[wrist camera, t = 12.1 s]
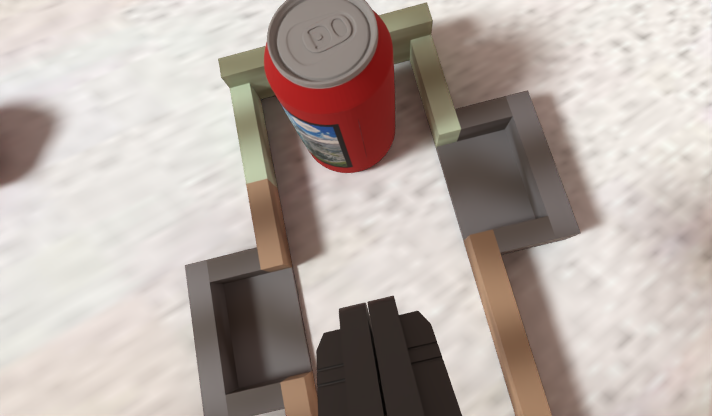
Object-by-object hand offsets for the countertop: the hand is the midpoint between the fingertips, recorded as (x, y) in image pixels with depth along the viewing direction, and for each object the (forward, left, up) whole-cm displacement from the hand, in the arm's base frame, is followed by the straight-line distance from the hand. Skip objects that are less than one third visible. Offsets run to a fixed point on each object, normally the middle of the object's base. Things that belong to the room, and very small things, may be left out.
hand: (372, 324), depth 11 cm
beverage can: (-7, +11, -18) cm, 22 cm away
